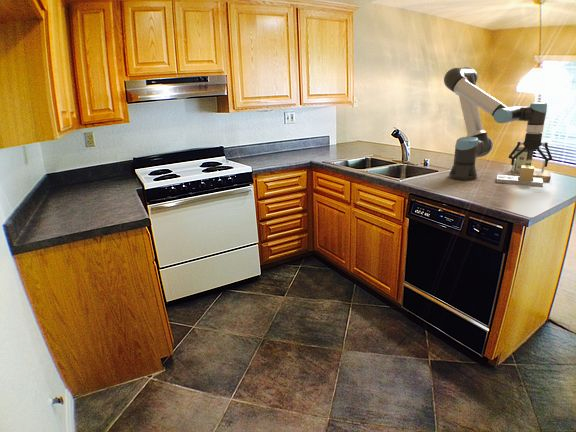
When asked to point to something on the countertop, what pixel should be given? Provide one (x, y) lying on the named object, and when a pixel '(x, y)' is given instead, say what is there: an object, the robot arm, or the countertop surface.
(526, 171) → the cube with dome knob
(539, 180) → the beige panel with cutout
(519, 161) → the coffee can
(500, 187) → the countertop surface
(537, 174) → the pedestal
